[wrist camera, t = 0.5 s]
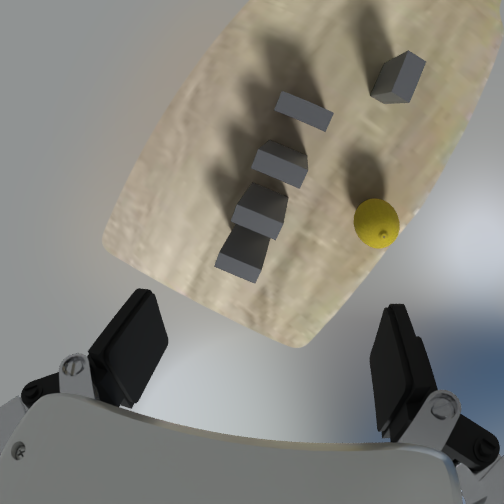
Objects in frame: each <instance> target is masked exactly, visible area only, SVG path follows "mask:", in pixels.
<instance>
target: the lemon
mask: <svg viewBox="0 0 504 504" xmlns="http://www.w3.org/2000/svg"><path fill="white" fill-rule="evenodd" d="M354 227H355V231H356V233H357V235H358V237H359V238H360V239H361V240H362V241H363V242H364V243H365V244H367V245H368V246H370V247H373V248H385V247H387V246H389V245H390V244H392V243H393V242H394V241H395V240H396V238H397V236H398V233H399V219H398V215H397V213H396V211H395V210H394V208H393V207H392V206H391V205H390V204H389V203H387V202H386V201H384V200H381V199H377V198H376V199H369V200H366V201H364V202H363V203H361V204H360V205H359V206H358V208H357V210H356V212H355V215H354Z"/></svg>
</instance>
